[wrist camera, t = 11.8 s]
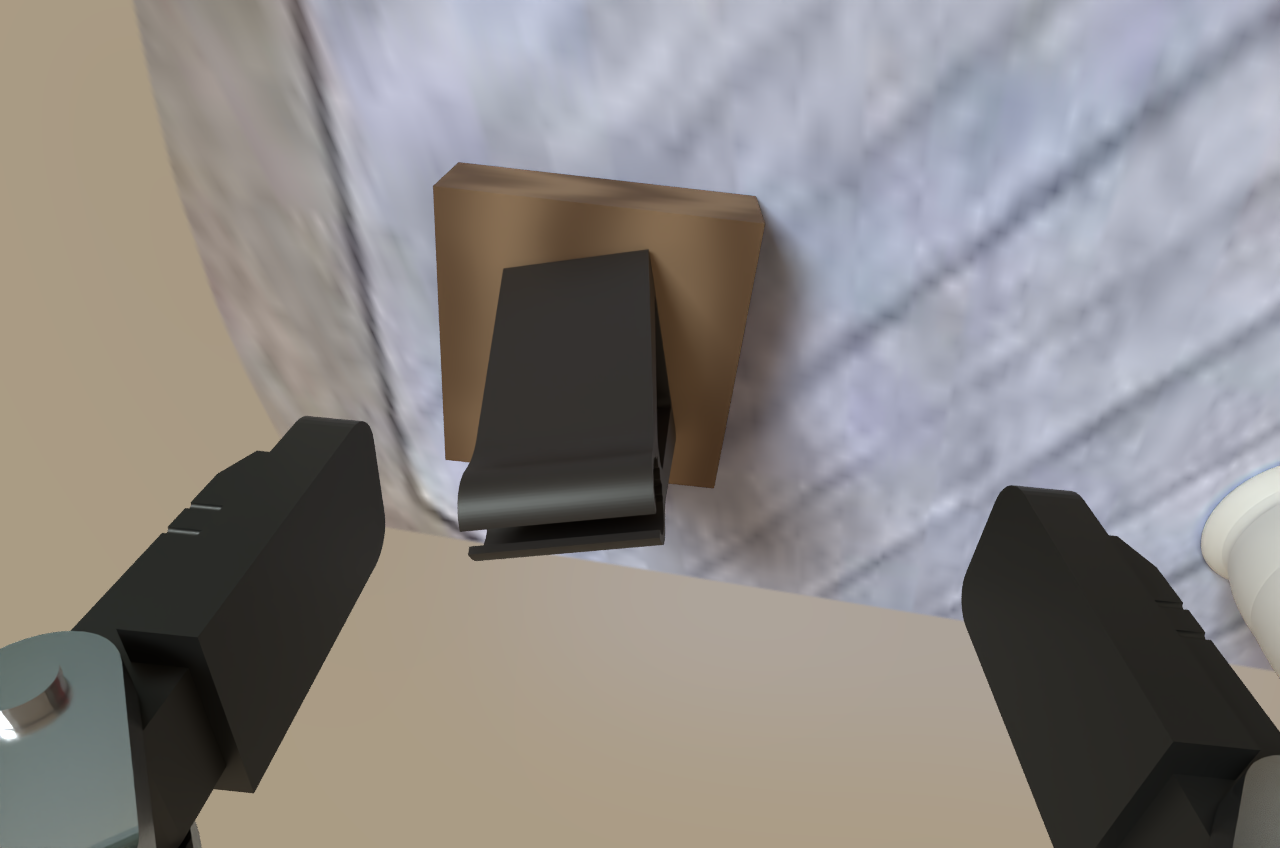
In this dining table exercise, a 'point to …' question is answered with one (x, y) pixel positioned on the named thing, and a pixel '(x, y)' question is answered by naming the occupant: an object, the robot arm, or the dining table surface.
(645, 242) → the walnut plinth
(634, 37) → the dining table surface
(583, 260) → the phone stand
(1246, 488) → the jar
